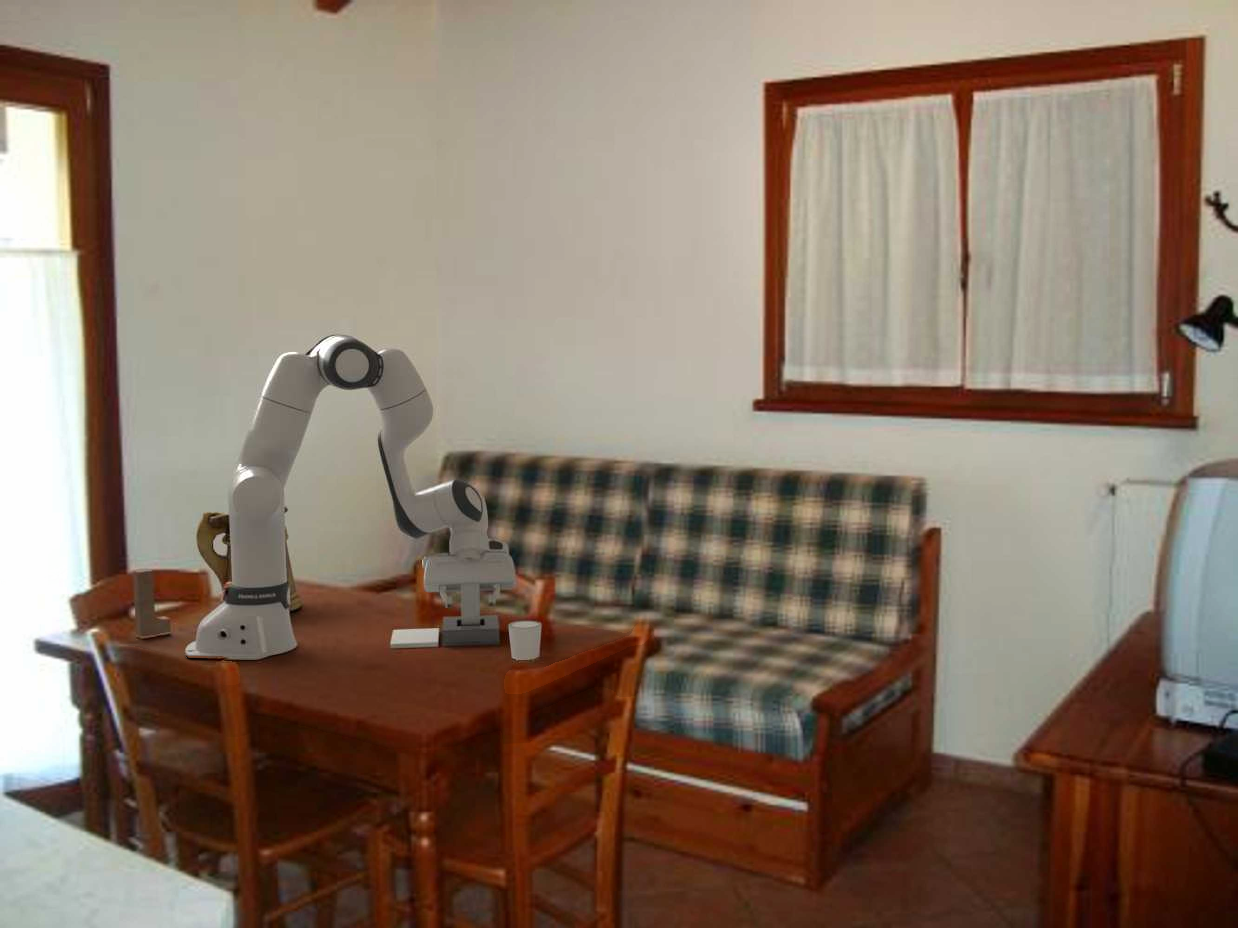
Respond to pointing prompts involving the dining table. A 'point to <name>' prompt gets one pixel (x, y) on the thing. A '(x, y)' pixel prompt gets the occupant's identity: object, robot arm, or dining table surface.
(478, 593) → the steel peg
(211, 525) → the tankard
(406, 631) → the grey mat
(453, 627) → the metal socket
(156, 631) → the wooden block
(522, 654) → the white cup
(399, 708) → the dining table surface
